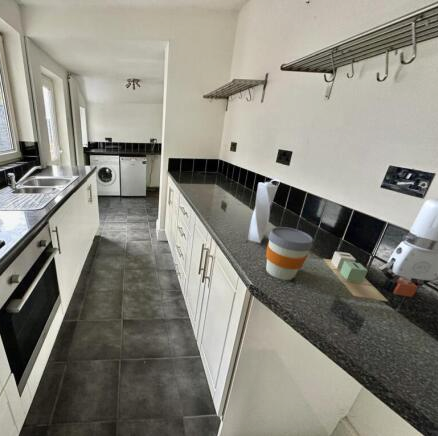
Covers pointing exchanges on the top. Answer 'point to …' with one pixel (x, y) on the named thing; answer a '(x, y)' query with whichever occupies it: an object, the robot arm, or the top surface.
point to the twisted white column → (262, 210)
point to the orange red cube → (405, 287)
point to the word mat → (357, 285)
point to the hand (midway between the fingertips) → (397, 291)
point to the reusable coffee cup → (287, 252)
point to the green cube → (353, 271)
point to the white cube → (341, 259)
